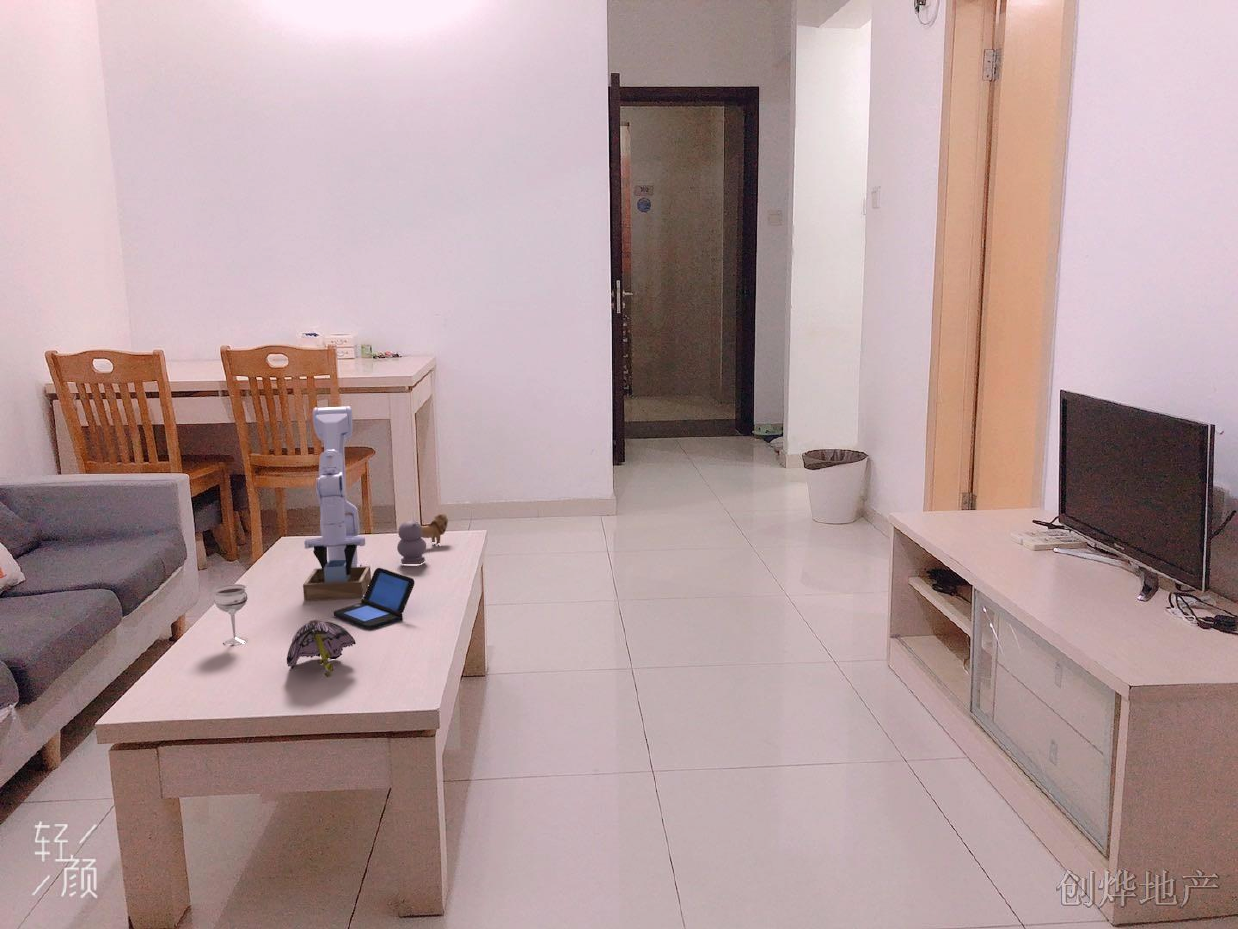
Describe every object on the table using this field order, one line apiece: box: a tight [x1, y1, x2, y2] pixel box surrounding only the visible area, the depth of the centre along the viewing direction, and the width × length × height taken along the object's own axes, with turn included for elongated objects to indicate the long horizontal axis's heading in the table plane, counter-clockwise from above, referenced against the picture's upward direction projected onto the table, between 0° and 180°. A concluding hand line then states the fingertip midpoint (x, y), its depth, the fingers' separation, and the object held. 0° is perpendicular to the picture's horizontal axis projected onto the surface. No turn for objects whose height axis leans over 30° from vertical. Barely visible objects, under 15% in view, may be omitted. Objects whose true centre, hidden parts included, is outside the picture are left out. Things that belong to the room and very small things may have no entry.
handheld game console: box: [332, 567, 415, 631], centre depth 236 cm, size 16×13×9 cm
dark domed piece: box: [286, 619, 357, 677], centre depth 205 cm, size 15×12×15 cm
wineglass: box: [213, 583, 249, 645], centre depth 221 cm, size 7×7×12 cm
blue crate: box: [324, 559, 351, 583], centre depth 256 cm, size 7×5×4 cm
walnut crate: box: [302, 565, 372, 601], centre depth 257 cm, size 14×14×4 cm
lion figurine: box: [421, 513, 449, 545], centre depth 295 cm, size 15×5×9 cm, turn 132°
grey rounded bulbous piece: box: [396, 518, 427, 564], centre depth 279 cm, size 8×8×12 cm
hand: (337, 574), depth 256 cm, fingers closed on blue crate, 5 cm apart
